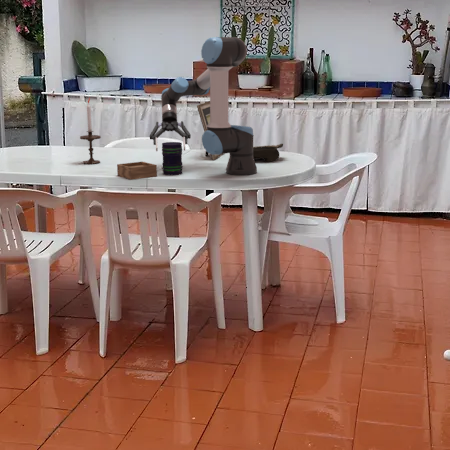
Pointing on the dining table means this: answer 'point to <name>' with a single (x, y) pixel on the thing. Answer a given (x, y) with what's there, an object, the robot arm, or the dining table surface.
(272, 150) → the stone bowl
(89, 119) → the candlestick
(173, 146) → the storage jar
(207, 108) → the picture frame
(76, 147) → the dining table surface
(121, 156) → the dining table surface
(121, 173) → the wooden box
